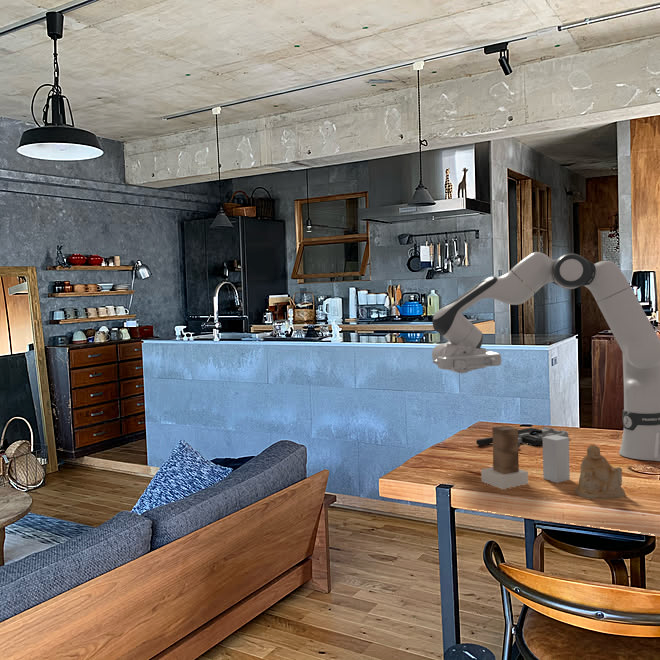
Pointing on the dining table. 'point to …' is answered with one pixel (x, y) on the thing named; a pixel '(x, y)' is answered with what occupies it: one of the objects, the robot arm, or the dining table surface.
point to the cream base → (504, 478)
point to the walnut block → (505, 449)
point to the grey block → (556, 458)
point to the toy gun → (529, 436)
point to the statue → (599, 477)
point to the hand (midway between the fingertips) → (480, 363)
